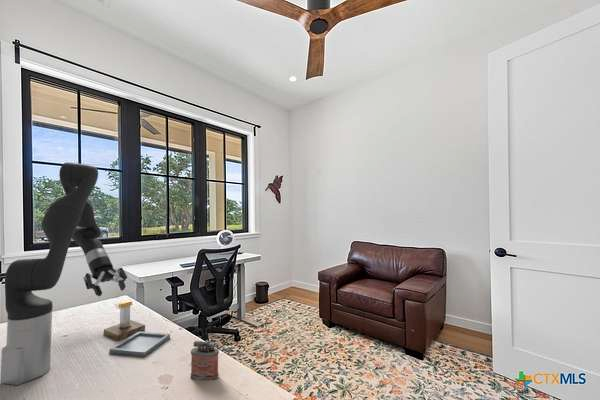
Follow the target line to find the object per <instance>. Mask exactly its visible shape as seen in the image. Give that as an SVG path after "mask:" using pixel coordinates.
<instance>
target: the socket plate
mask: <svg viewBox="0 0 600 400" xmlns="http://www.w3.org/2000/svg"><path fill="white" fill-rule="evenodd" d="M145 330H146V324H143V323H141V322H137V321H135V320H133V319H130V327H129V328H126V329H124V330H121V329H120V323H118V324H116V325H112V326H110V327H106V328H104V329H103V336H106V337H108V338H111V339H113V340H115V341H121V340H125V339H127V338H129V337H131V336H132V335H134V334H136V333H137V332H145Z"/></svg>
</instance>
